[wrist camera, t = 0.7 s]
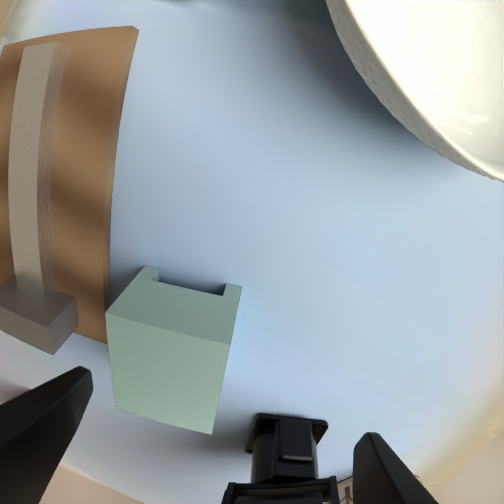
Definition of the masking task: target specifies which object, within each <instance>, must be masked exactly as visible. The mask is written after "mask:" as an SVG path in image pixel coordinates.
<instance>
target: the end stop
mask: <svg viewBox="0 0 504 504" xmlns="http://www.w3.org/2000/svg"><path fill="white" fill-rule="evenodd" d="M78 326H79V320H78V312H77V303H76V298H75V297H72V296H69V295H66V294H63V293H60V292H57V291H55V292H54V293H53V294H52V295H51V296H49V297H48V298H47V299H46V300H42V299H40V298H37V297H35V296H32V295H30V294H27V293H25V292H22V291H20V290H18V288H17V282H16V276H11V277H10V278H9V279H7V280H6V281H4V282H3V283H2V284H0V330H2V331H3V332H5V333H7V334H9V335H11V336H13V337H15V338H17V339H19V340H21V341H23V342H25V343H27V344H29V345H31V346H34V347H36V348H38V349H40V350H42V351H45V352H47V353H49V354H51V355H54V354H55V353H56V352H57V350H58V349H59V348H60V347H61V345H62V344H63V343H64V342H65V341H66V340H67V338H68V337H69V336H70V335H71V334H72V332H73V331H74V330H75V329H76V328H77V327H78Z"/></svg>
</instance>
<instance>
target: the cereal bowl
mask: <svg viewBox="0 0 504 504" xmlns="http://www.w3.org/2000/svg"><path fill="white" fill-rule="evenodd" d="M326 4H327V6H328V10H329V12H330V16H331V18H332V22H333V24H334V26H335V29H336V33H337V34H338V36H339V40H340V41H341V42H342V44H343V46H344V50H345V51H346V53H347V54H348V56H349V58H350V60H351V61H352V63H353V64H354V67H355V69H356V70H357V71H358V72H359V73H360V75H361V77H362V78H363V79H364V80H365V82H366V85H367V86H368V87H369V88H370V89H371V90H372V92H373V93H374V94H375V95H376V96H377V98H378V99H379V101H380V102H381V103H382V104H383V105H384V106H385V107H386V109H387V110H389V111H390V113H391V114H392V116H393V117H394V118H396V119H397V120H399V122H401V124H402V125H403V126H405V127H406V129H407V130H408V131H410V132H411V133H413V134H414V135H415V136H416V138H418V139H419V140H421V141H422V142H423V143H425V144H426V145H427V146H429V147H430V148H431V149H432V150H434V151H436V152H438V153H439V154H440V155H442V156H443V157H445V158H448V159H449V160H451V161H452V162H454V163H455V164H458V165H460V166H462V167H464V168H466V169H467V170H470V171H473V172H476V173H478V174H480V175H483V176H487V177H489V178H491V179H494V180H499V181H502V182H504V0H326Z"/></svg>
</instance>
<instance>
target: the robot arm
mask: <svg viewBox="0 0 504 504" xmlns="http://www.w3.org/2000/svg"><path fill="white" fill-rule="evenodd" d="M92 392H93V381H92V374H91V371H90V370H89V369H86V368H84V367H82V366H78V367H76V368H74V369H72V370H70V371H68V372H66V373H64V374H62V375H60V376H58V377H56V378H54V379H52V380H50V381H48V382H46V383H44V384H42V385H40V386H38V387H36V388H34V389H32V390H30V391H28V392H26V393H24V394H22V395H20V396H18V397H15V398H13V399H11V400H9V401H7V402H5V403H3V404H1V405H0V504H39V502H40V500H41V498H42V496H43V494H44V492H45V490H46V488H47V486H48V484H49V482H50V480H51V478H52V476H53V474H54V472H55V470H56V468H57V466H58V464H59V462H60V461H61V459H62V457H63V455H64V453H65V451H66V449H67V447H68V446H69V444H70V442H71V440H72V438H73V436H74V435H75V433H76V431H77V429H78V426H79V424H80V422H81V419H82V417H83V414H84V412H85V409H86V407H87V404H88V402H89V400H90V397H91V395H92ZM327 429H328V423H327V422H326V421H316V420H306V419H297V418H288V417H280V416H273V415H266V414H259V415H258V416H257V417H256V420H255V423H254V425H253V428H252V431H251V433H250V436H249V439H248V441H247V444H246V447H245V452H246V453H249V454H253V457H252V469H251V481H250V483H236V482H229V484H228V487H227V490H225V493H224V496H223V500H222V503H221V504H323V503H324V502H329V503H328V504H340V500H339V493H338V486H337V480H336V476H330V477H329V478H322V479H319V476H318V462H317V450H316V446H317V444H318V443H319V441H320V440H321V438H322V437H323V435H324V434H325V432H326V430H327ZM352 494H353V504H439V503H438V502H437V501H436V500H434V498H433V497H432V495H431V494H430V493H429V492H428V491H427V490H426V488H425V487H424V486H423V485H422V484H421V483H420V482H419V480H418V479H417V478H416V477H415V476H414V475H413V473H412V472H411V471H410V470H409V469H408V468H407V466H406V465H405V464H404V463H403V462H402V461H401V459H400V458H399V457H398V456H397V455H396V453H395V452H394V451H393V450H392V449H391V448H390V446H389V445H388V444H387V443H386V442H385V440H384V439H383V438H382V437H381V436H380V435H379V434H378V433H376V432H367V433H365V434H364V435H363V436H362V438H361V439H360V440H359V441H358V443H357V444H356V445H355V447H354V454H353V480H352Z"/></svg>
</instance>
